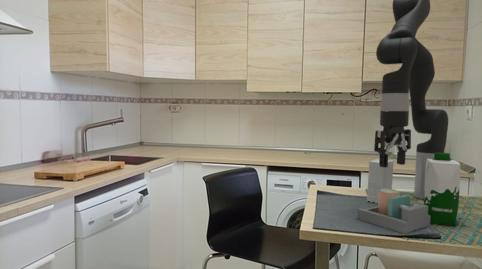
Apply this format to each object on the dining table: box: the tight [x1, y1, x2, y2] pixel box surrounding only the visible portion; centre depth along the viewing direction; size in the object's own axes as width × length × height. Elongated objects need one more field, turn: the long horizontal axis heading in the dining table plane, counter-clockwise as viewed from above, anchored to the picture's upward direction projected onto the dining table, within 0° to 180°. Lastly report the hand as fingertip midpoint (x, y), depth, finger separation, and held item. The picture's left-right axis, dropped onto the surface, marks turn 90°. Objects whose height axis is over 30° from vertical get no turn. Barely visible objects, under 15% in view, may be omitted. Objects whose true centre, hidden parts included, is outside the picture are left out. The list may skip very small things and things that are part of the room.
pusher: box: [388, 194, 411, 220], centre depth 100 cm, size 9×3×7 cm, turn 124°
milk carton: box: [423, 152, 462, 227], centre depth 104 cm, size 9×9×20 cm
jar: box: [377, 188, 401, 216], centre depth 104 cm, size 6×6×9 cm
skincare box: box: [366, 158, 394, 204], centre depth 127 cm, size 8×6×15 cm
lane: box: [356, 203, 431, 235], centre depth 103 cm, size 12×15×6 cm
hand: (392, 165), depth 103 cm, fingers open, 8 cm apart
